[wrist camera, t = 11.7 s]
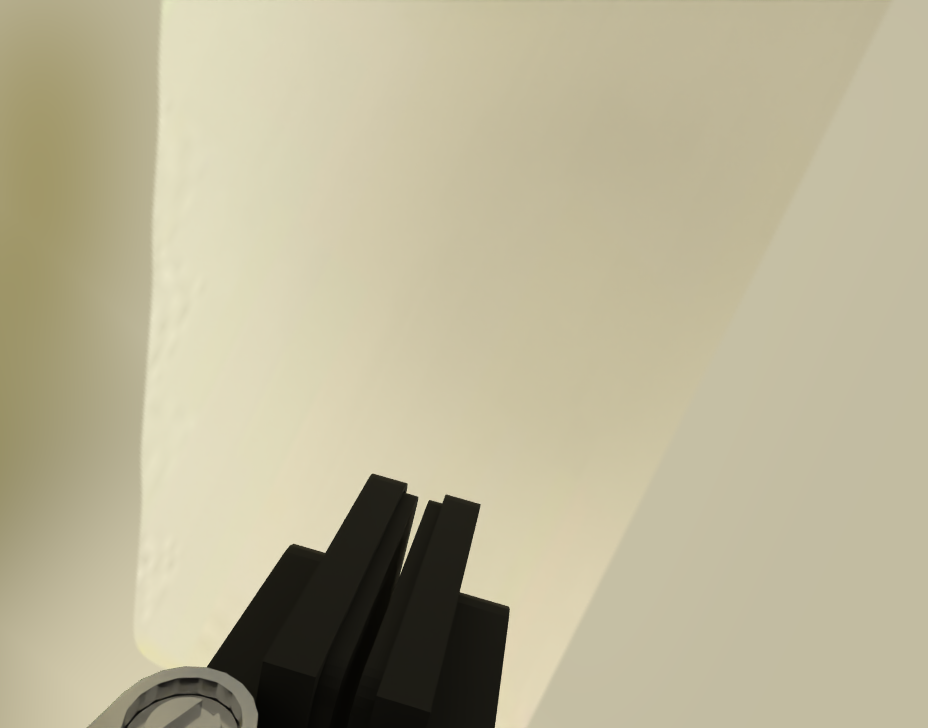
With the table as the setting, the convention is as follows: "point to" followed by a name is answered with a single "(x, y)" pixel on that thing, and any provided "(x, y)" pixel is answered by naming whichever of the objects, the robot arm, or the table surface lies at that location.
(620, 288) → the table surface
